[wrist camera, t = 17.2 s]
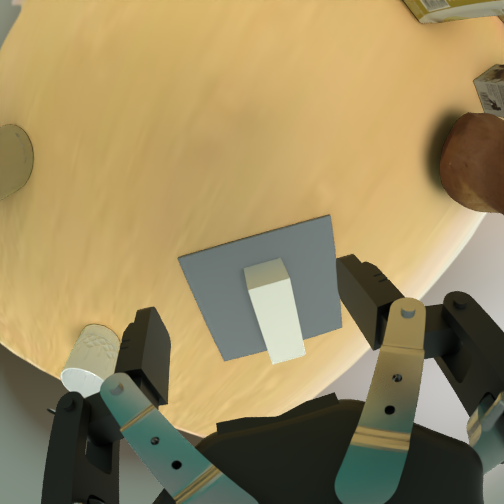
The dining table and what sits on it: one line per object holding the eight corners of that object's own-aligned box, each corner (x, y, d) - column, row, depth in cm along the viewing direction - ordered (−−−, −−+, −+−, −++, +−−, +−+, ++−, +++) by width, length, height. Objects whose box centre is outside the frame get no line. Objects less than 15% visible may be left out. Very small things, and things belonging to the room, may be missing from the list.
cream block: (297, 332, 45) (280, 257, 39) (305, 354, 41) (289, 278, 34) (266, 341, 45) (243, 268, 39) (272, 364, 41) (247, 290, 34)
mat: (224, 359, 47) (224, 361, 46) (178, 257, 37) (177, 258, 37) (341, 325, 47) (342, 327, 46) (329, 214, 37) (330, 215, 37)
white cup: (94, 358, 44) (81, 403, 35) (70, 325, 40) (50, 370, 31) (131, 352, 44) (121, 400, 35) (108, 316, 40) (91, 365, 31)
